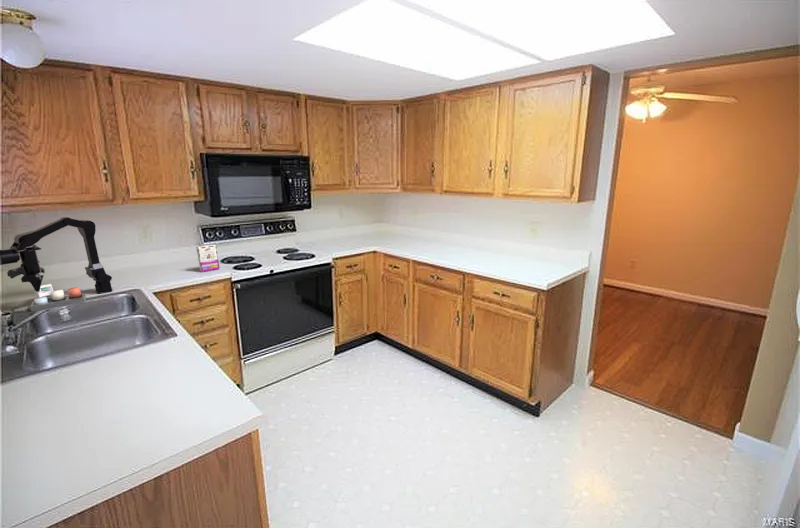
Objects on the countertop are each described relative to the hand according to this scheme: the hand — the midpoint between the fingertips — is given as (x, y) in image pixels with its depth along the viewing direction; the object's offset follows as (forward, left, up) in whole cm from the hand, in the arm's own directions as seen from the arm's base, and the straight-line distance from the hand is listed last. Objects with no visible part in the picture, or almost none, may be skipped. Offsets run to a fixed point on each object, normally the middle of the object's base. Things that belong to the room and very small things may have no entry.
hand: (37, 291), depth 183 cm
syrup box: (+1, -17, -6) cm, 17 cm away
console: (-7, 0, -8) cm, 11 cm away
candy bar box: (-80, -23, -8) cm, 84 cm away
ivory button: (-7, 0, -5) cm, 9 cm away
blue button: (0, 0, -8) cm, 8 cm away
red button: (-13, 0, -5) cm, 14 cm away
